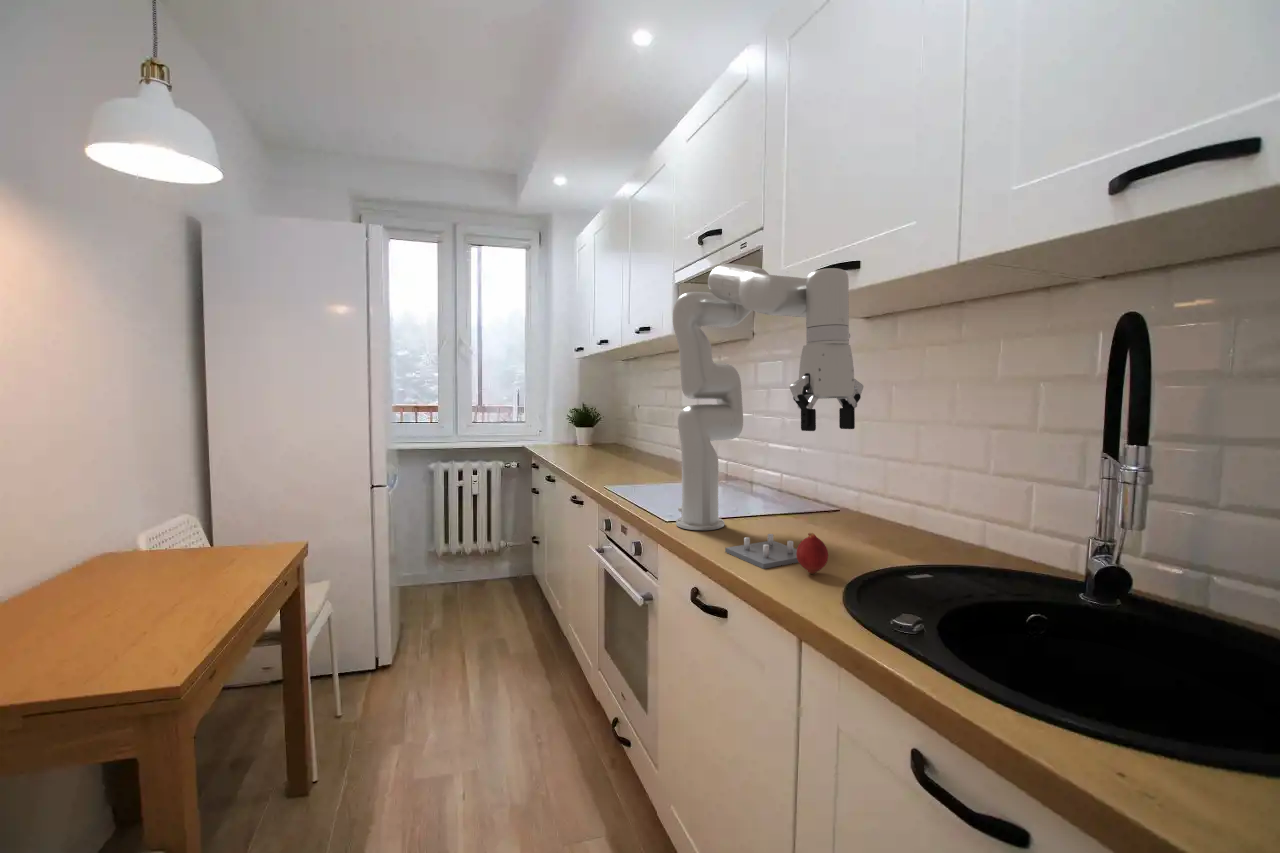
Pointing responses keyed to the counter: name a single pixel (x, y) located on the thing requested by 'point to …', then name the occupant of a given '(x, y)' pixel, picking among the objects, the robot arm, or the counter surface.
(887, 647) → the counter surface
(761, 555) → the pin tray
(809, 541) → the onion
